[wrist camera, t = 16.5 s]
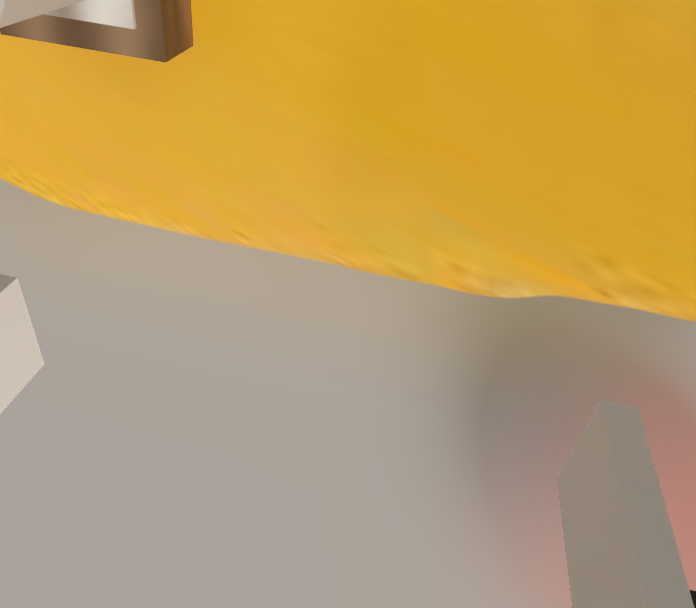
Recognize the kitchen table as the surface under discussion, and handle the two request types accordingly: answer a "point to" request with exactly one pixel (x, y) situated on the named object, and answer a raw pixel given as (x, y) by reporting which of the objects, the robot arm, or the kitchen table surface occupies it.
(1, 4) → the beverage can
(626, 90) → the kitchen table surface
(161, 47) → the walnut riser
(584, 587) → the robot arm
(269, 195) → the kitchen table surface
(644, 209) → the kitchen table surface
